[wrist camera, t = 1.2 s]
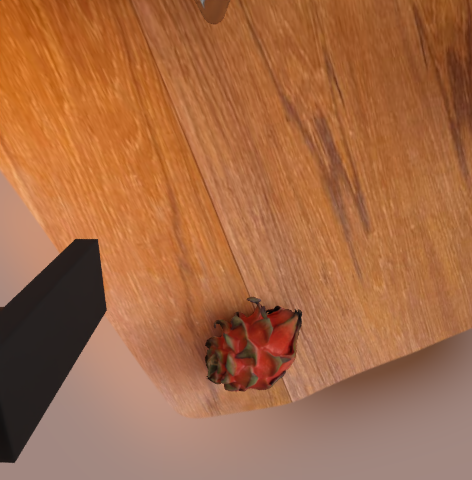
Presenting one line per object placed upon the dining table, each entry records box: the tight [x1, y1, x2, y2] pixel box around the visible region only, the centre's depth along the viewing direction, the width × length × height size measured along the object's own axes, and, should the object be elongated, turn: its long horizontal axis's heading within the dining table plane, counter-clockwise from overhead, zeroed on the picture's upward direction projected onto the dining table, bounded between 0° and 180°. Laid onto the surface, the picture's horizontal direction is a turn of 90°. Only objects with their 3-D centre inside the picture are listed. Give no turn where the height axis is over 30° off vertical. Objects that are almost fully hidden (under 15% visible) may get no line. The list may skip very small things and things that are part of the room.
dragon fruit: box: [205, 297, 302, 391], centre depth 46 cm, size 8×8×12 cm
